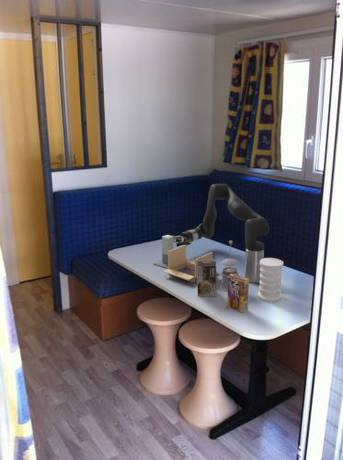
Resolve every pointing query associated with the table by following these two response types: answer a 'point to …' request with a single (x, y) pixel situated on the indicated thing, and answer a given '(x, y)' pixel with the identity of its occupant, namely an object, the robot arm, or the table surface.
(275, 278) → the decorative container
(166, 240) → the box
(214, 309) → the table surface
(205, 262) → the coffee box
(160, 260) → the mat
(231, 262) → the french press
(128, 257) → the table surface
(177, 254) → the carton
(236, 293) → the candy box
